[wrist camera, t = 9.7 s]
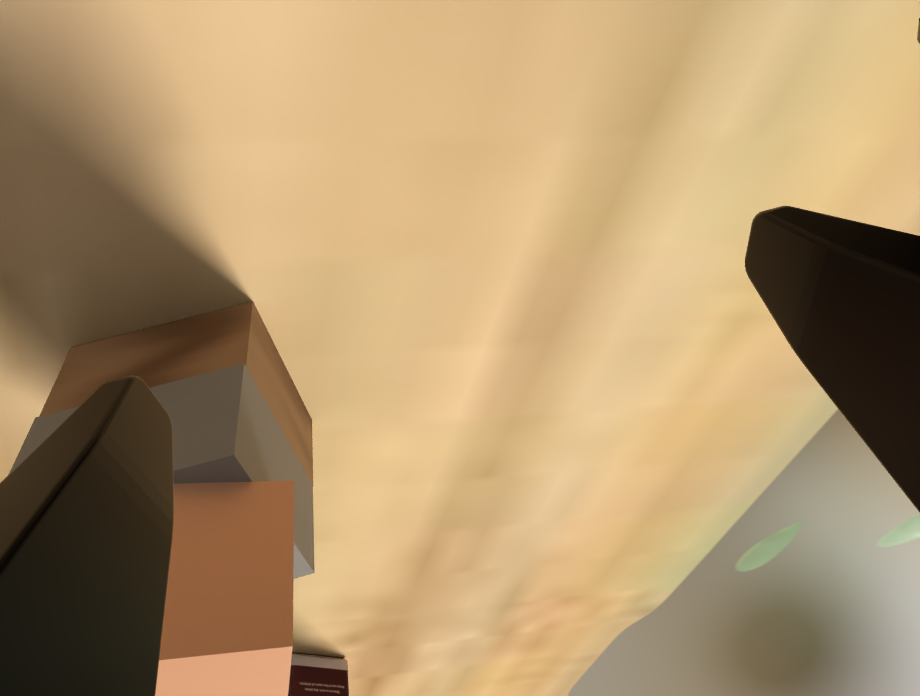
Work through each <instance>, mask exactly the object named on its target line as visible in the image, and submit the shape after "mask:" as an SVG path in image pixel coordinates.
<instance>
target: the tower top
mask: <svg viewBox="0 0 920 696" xmlns="http://www.w3.org/2000/svg"><path fill="white" fill-rule="evenodd" d="M150 390H151V391H152V392H153V394H154V395H155V397H156V398H157V399H158V401H159V402H160V403H161V405H162V406H163V407H164V409H165V410H166V411H167V413H168V415H169V417H170V419H171V422H172V428H173V482H174V484H182V483H221V482H259V481H294V562H293V579H294V578H298V577H302V576H305V575H309V574H312V573H314V528H313V484H312V482H311V480H310V479H309V477H308V475H307V473H306V472H305V470H304V468H303V466H302V465H301V463H300V461H299V459H298V457H297V456H296V454H295V452H294V450H293V449H292V447H291V445H290V443H289V442H288V440H287V438H286V436H285V434H284V433H283V431H282V429H281V427H280V426H279V424H278V422H277V420H276V419H275V417H274V415H273V413H272V412H271V410H270V408H269V406H268V404H267V403H266V401H265V399H264V397H263V396H262V394H261V392H260V390H259V389H258V387H257V385H256V383H255V382H254V380H253V378H252V376H251V374H250V373H249V371H248V369H247V367H246V366H245V364H244V363H243V364H239V365H235V366H232V367H228V368H224V369H220V370H216V371H212V372H209V373H205V374H201V375H197V376H193V377H189V378H186V379H182V380H178V381H174V382H170V383H166V384H163V385H159V386H155V387H151V388H150ZM78 407H80V406H78ZM78 407H75V408H71V409H67V410H63V411H59V412H56V413H52V414H48V415H44V416H40V417H36V418H35V420H34V422H33V424H32V426H31V428H30V430H29V433H28V435H27V437H26V439H25V441H24V443H23V445H22V447H21V450H20V452H19V454H18V456H17V458H16V460H15V462H14V465H13V467H12V469H11V471H10V473H11V472H12V471H13V470H14V469H15V468H16V467H17V466H18V465H20V464H21V463H22V462H23V461H24V460H25V459H26V458H27V457H28V456H29V455H30V454H31V453H32V452H33V451H34V450H35V449H36V448H37V447H38V446H39V445H40V444H41V443H42V442H43V441H44V440H45V439H46V438H47V437H48V436H50V435H51V434H52V433H53V432H54V431H55V430H56V429H57V428H58V427H59V426H60V425H61V424H62V423H63V422H64V421H65V420H66V419H67V418H68V417H69V416H70V415H71V414H72V413H73V412H74V411H75V410H76V409H77V408H78ZM10 473H9V474H10Z"/></svg>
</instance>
